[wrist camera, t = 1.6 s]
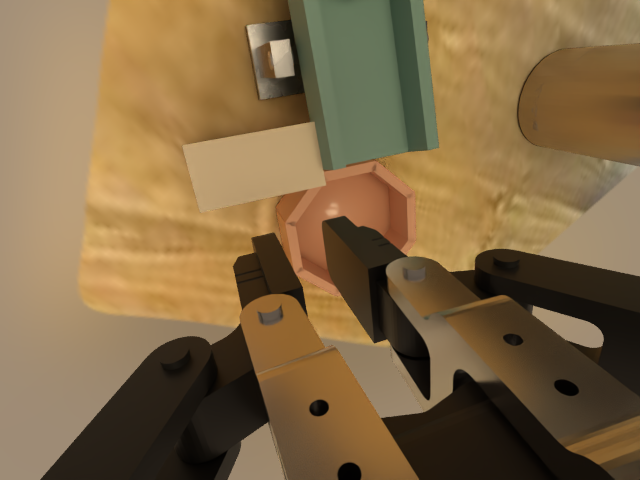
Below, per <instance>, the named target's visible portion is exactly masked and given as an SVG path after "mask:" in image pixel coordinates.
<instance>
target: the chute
mask: <svg viewBox="0 0 640 480" xmlns="http://www.w3.org/2000/svg"><path fill="white" fill-rule="evenodd" d="M288 5H289V10H290V16H291V21H292V27H293V32H294V37H295V43H296V48H297V53H298V59H299V64H300V69H301V75H302V80H303V85H304V91H305V96H306V101H307V107H308V112H309V117H310V122H309V123H303V124H298V125H292V126H286V127H281V128H275V129H270V130H264V131H259V132H253V133H248V134H242V135H236V136H231V137H225V138H220V139H214V140H209V141H203V142H198V143H192V144H186V145H182V148H183V152H184V155H185V159H186V163H187V166H188V170H189V174H190V177H191V181H192V185H193V189H194V192H195V196H196V200H197V203H198V207H199V211H200V213H202V212H207V211H211V210H216V209H221V208H225V207H230V206H234V205H239V204H243V203H248V202H252V201H257V200H262V199H266V198H271V197H275V196H280V195H284V194H289V193H293V192H298V191H303V190H307V189H312V188H316V187H321V186H325V185H326V182H325V176H324V171H323V170H337V169H341V168H346V165H348V164H352V163H357V162H362V161H367V160H371V159H376V158H381V157H386V156H391V155H395V154H400V153H405V152H411V151H424V150H431V149H436V148H439V142H438V133H437V124H436V114H435V105H434V96H433V87H432V78H431V69H430V59H429V50H428V41H427V32H426V23H425V14H424V4H423V0H288Z"/></svg>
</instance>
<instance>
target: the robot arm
mask: <svg viewBox="0 0 640 480" xmlns="http://www.w3.org/2000/svg"><path fill="white" fill-rule="evenodd" d="M519 123H520V127H521V130H522V132H523V134H524V136H525V137H526V138H527V140H529V141H530V142H531V143H533V144H535V145H538V146H541V147H546V148H551V149H556V150H561V151H566V152H571V153H575V154H580V155H585V156H590V157H595V158H600V159H605V160H610V161H615V162H620V163H625V164H630V165H635V166H640V43H637V44H624V45H610V46H595V47H581V48H568V49H561V50H558V51H556V52H553V53H551V54H550V55H548V56H547V57H546V58H544V59H543V60H542V61H541V62H540V63H539V64H538V65H537V66H536V67H535V69H534V70H533V71H532V73H531V74H530V76H529V77H528V79H527V81H526V83H525V85H524V88H523V91H522V94H521V97H520V102H519ZM322 233H323V240H324V247H325V255H326V262H327V268H328V271H329V275H330V277H331V280H332V282H333V283H334V285H335V286H336V288H337V289H338V291H339V292H340V294H341V295H342V297H343V298H344V300H345V301H346V302H347V304H348V305H349V307H350V308H351V310H352V311H353V313H354V314H355V316H356V317H357V319H358V320H359V322H360V323H361V325H362V326H363V328H364V329H365V331H366V332H367V334H368V335H369V336H370V338H371V339H372V341H373V342H374V343H377V342H380V341H383V340H386V339H388V341H389V342H390V348H391V358H392V361H393V362H394V364H395V366H396V367H397V369H398V371H399V372H400V374H401V375H402V377H403V379H404V381H405V382H406V384H407V386H408V387H409V389H410V390H411V392H412V394H413V395H414V397H415V399H416V400H417V402H418V404H419V405H420V407H421V408H422V410H423V413H418V414H410V415H402V416H394V417H386V418H380V417H379V415H378V413H377V412H376V410H375V408H374V407H373V405H372V404H371V402H370V401H369V399H368V397H367V396H366V394H365V392H364V391H363V389H362V388H361V386H360V384H359V383H358V381H357V380H356V378H355V376H354V375H353V373H352V372H351V370H350V368H349V367H348V365H347V364H346V362H345V360H344V359H343V357H342V356H341V354H340V352H339V351H338V350H337V348H336V347H335V346H333V345H331V346H328V347H326V348H325V346H324V345H323V343H322V341H321V339H320V338H319V336H318V334H317V333H316V331H315V329H314V327H313V326H312V324H311V322H310V321H309V319H308V316H307V310H306V304H305V299H304V293H303V287H302V285H301V283H300V281H299V279H298V277H297V275H296V273H295V271H294V270H293V268H292V266H291V264H290V262H289V260H288V258H287V256H286V254H285V252H284V250H283V248H282V246H281V244H280V242H279V241H278V239H277V237H276V235H275V233H269V234H265V235H261V236H257V237H253V238H251V239H252V244H253V249H254V253H252V254H248V255H244V256H240V257H238V258H237V260H236V262H235V264H234V266H233V268H234V273H235V278H236V283H237V287H238V292H239V297H240V302H241V307H242V311H241V314H240V324H239V326H238V327H237V328H236V329H235V330H234V331H233V332H232V333H231V334H229V335H228V336H227V337H225V338H224V339H222V340H220V341H218V342H216V343H214V344H212V345H210V344H209V342H207V341H206V340H205V339H203V338H200V337H195V336H190V337H182V338H178V339H175V340H172V341H169V342H167V343H165V344H163V345H161V346H160V347H158V348H157V349H155V350H154V351H153V352H152V353H151V354H150V355H149V356H148V357H147V358H146V359H145V360H144V361H143V362H142V363H141V365H140V366H139V367H138V368H137V369H136V370H135V372H134V373H133V374H132V375H131V376H130V378H128V380H127V381H126V382H125V383H124V384H123V385H122V386H121V388H120V389H119V390H118V391H117V392H116V394H115V395H114V396H113V397H112V398H111V399H110V400H109V401H108V403H107V404H106V405H105V406H104V407H103V408H102V409H101V411H100V412H99V413H98V414H97V415H96V416H95V417H94V419H93V420H92V421H91V422H90V423H89V424H88V425H87V427H86V428H85V429H84V430H83V431H82V432H81V434H80V435H79V436H78V437H77V438H76V439H75V440H74V442H73V443H72V444H71V445H70V446H69V447H68V448H67V450H66V451H65V452H64V453H63V454H62V455H61V456H60V458H59V459H58V460H57V461H56V462H55V464H54V465H53V466H52V467H51V468H50V469H49V470H48V471H47V473H46V474H45V475H44V476H43V477H42V478H41V480H227V479H228V477H229V475H230V473H231V470H232V468H233V466H234V464H235V461H236V459H237V457H238V454H239V452H240V448H241V440H243V439H244V438H246V437H247V436H248V435H250V434H251V433H253V432H254V431H256V430H257V429H259V428H260V427H261V426H263V425H264V424H266V423H267V422H268V424H269V428H270V431H271V434H272V438H273V441H274V445H275V448H276V452H277V455H278V459H279V462H280V465H281V469H282V472H283V476H284V479H285V480H640V276H635V275H630V274H625V273H620V272H616V271H611V270H606V269H602V268H597V267H592V266H587V265H583V264H578V263H573V262H568V261H563V260H558V259H554V258H549V257H544V256H540V255H535V254H530V253H525V252H521V251H516V250H510V249H493V250H488V251H484V252H482V253H480V254H479V255H478V256H477V257H476V259H475V270H468V271H456V272H448V271H447V270H446V269H445V268H444V267H443V266H441V265H440V264H439V263H438V262H436V261H434V260H432V259H429V258H424V257H408V256H406V255H405V254H404V253H403V252H402V251H400V250H399V249H398V248H397V247H396V246H394V245H393V244H392V243H390V241H389V240H387V239H386V238H384V236H383V235H381V234H380V233H379V232H378V231H377V230H375V229H372V228H369V227H366V226H360V227H357V226H356V225H355V224H354V223H353V222H351V221H350V220H349V219H348V218H347V217H346V216H340V217H336V218H332V219H328V220H324V221H322ZM533 305H534V306H537V307H540V308H544V309H547V310H550V311H554V312H558V313H561V314H564V315H568V316H572V317H575V318H578V319H582V320H585V321H588V322H590V323H592V324H594V325H595V326H597V327H598V328H599V329H600V330H601V332H602V334H603V336H604V342H603V346H601V347H599V348H589V347H585V346H582V345H579V344H576V343H573V342H570V341H567V340H565V339H563V338H562V337H561V336H559V335H558V334H557V333H556V332H554V331H553V330H552V329H550V328H549V327H548V326H546V325H545V324H544V323H543V322H541V321H540V320H539V319H537V318H536V317H535V316H533V315H532V310H533Z"/></svg>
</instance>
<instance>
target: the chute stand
mask: <svg viewBox="0 0 640 480" xmlns="http://www.w3.org/2000/svg"><path fill="white" fill-rule="evenodd" d="M425 23H426V32H427V21H425ZM245 29H246V35H247V40H248V45H249V51H250V56H251V61H252V67H253V72H254V77H255V83H256V88H257V93H258V99H260V100H262V99H268V98H274V97H281V96H287V95H293V94H299V93H305V91H304V85H303V80H302V75H301V69H300V64H299V59H298V53H297V48H296V43H295V37H294V32H293V27H292V21H291V20H287V21H278V22H270V23H261V24H253V25H246V26H245ZM428 39H429V38H428V33H427V41H428Z"/></svg>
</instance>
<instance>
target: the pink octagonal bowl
mask: <svg viewBox="0 0 640 480" xmlns="http://www.w3.org/2000/svg"><path fill="white" fill-rule="evenodd" d="M323 171H324V176H325V182H326V185H325V186H321V187H316V188H312V189H307V190H303V191H298V192H293V193H289V194H284V196H283V197H282V199H281V200H280V202H279V203H278V205H277V206H276V213H277V218H278V223H279V228H280V234H281V239H282V244H283V249H284V252H285V254H286V256H287V258H288V260H289V262H290V264H291V266H292V268H293V270H294V271H295V273H296V275H297V276H299V277H301V278H302V279H304V280H306V281H308V282H310V283H312V284H314V285H316V286H317V287H319V288H321V289H323V290H325V291H327V292H329V293H331V294H332V295H334V296H340V295H341V294H340V292H339V291H338V289H337V288H336V286H335V285H334V283H333V282H332V280H331V277H330V275H329V271H328V268H327V262H326V255H325V247H324V240H323V233H322V221H324V220H328V219H332V218H336V217H340V216H346V217H347V218H348V219H349V220H350V221H351V222H353V223H354V224H355V225H356V226H357V227H360V226H366V227H369V228H372V229H375V230H377V231H378V232H379V233H380V234H381V235H383V236H384V238H386V239H387V240H389V241H390V243H392V244H393V245H394V246H396V247H397V248H398V249H399V250H400V251H402V252H403V253H404V254H405V255H406V254H407V253H408V251H409V250H410V249H411V248H412V246H413V245H414V244H415V241H416V212H415V191H413V190H412V189H411V188H410V187H408V186H407V185H406V184H405V183H403V182H402V181H401V180H400V179H398V178H397V177H396V176H395V175H393V174H392V173H391V172H390V171H389V170H387V169H386V168H385V167H384V166H382V165H381V164H380V163H379V162H377V161H376V160H373V159H371V160H367V161H362V162H357V163H352V164H348V165H346V168H341V169H337V170H323Z"/></svg>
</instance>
